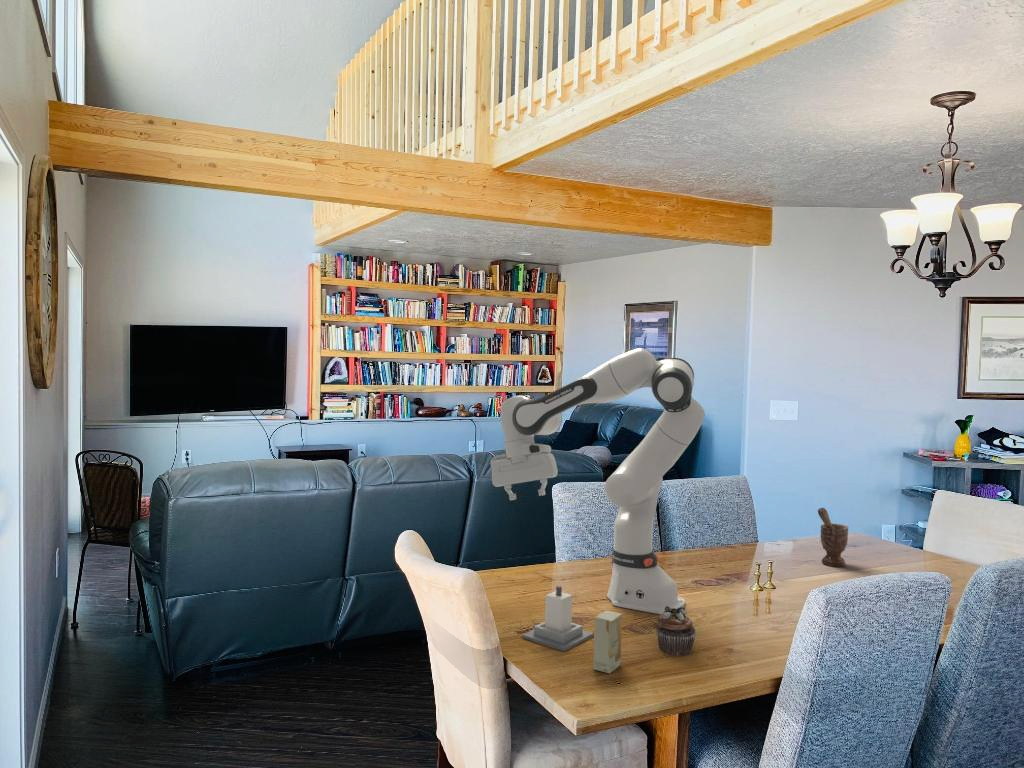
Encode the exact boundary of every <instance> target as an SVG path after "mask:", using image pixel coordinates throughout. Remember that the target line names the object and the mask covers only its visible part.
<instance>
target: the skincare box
mask: <svg viewBox="0 0 1024 768" xmlns="http://www.w3.org/2000/svg"><path fill="white" fill-rule="evenodd" d="M622 620H623V613H620V612H616V611H615V612H614V611H611V610H604V611H603V612H600V613H599V614H598V615H596V616H595V617H594V630H593V631H594V632H593V633H594V636H593V639H594V640H593V664H592V665H593V666H592V667H593V670H594V671H599V672H603V673H607V674H611V673H612V672H614V671H615V670H616V669H617V668H618V667H620V666H621V663H622V662H621V659H622V658H621V657H622V656H621V655H622V654H621V653H622V626H623V625H622V624H623V623H622V622H623V621H622Z"/></svg>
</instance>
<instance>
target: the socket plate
mask: <svg viewBox="0 0 1024 768" xmlns="http://www.w3.org/2000/svg"><path fill="white" fill-rule="evenodd" d="M590 638H591V639H592V638H594V632H592V631H588V630H585V629H583V625H582V624H577V623H574V622H572V626H571V629H570V630H568V631H566V632H564V633H560V632H556V631H553V630H550V629H547V628H545V620H544V621H543V622H540V623H539V624H537V625H534V626H533V629H531V630H529V631H526V632H525V633H523V634H521V639H524V640H528V641H530V642H531V641H532V642H533V643H537V644H540V645H543V646H545V647H547V648H548V647H549V648H551V649H555V650H558V651H561V652H567V651H568V650H570V649H571V648H574V647H576V646H579V644H582V643H583V642H585V641H586V640H589V639H590Z"/></svg>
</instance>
